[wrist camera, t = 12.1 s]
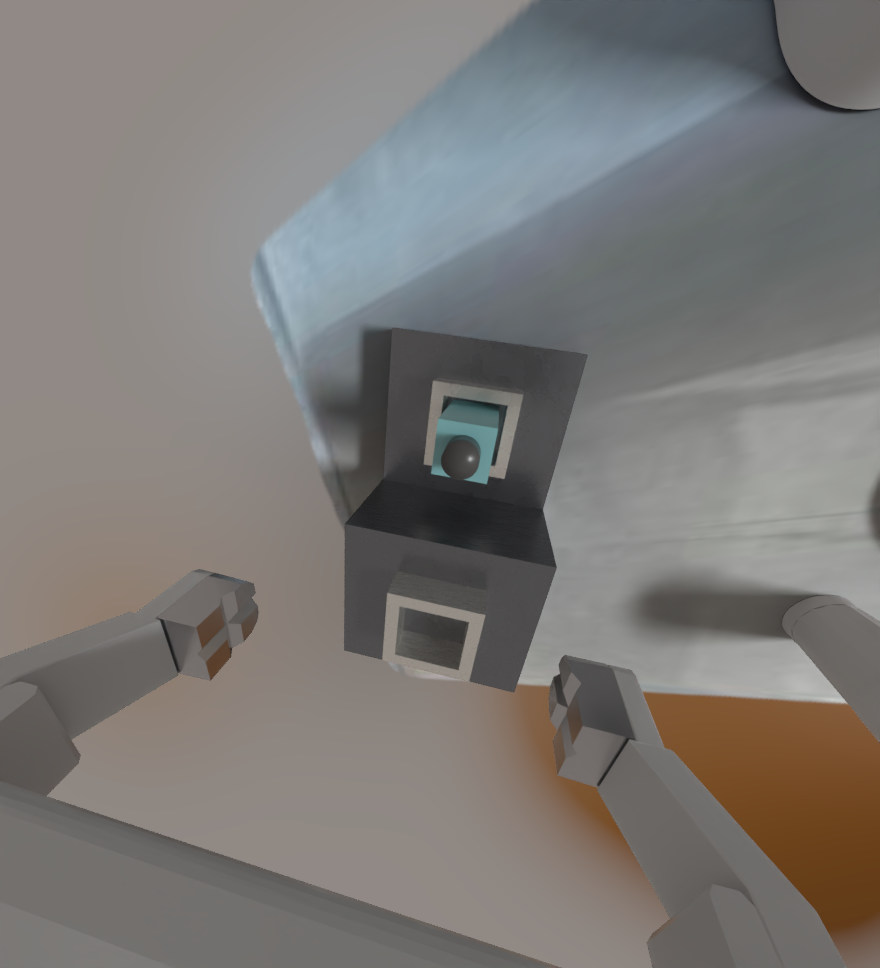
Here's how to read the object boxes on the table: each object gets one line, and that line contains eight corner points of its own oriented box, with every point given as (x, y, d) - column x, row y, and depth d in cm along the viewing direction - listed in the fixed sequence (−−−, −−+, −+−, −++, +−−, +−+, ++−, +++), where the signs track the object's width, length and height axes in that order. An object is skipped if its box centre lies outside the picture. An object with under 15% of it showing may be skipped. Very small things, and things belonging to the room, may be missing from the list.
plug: (454, 399, 29) (432, 425, 20) (499, 406, 29) (497, 436, 20) (446, 450, 31) (423, 495, 22) (488, 458, 31) (483, 507, 22)
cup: (806, 657, 37) (934, 791, 26) (755, 619, 36) (864, 740, 25) (887, 618, 33) (1073, 752, 22) (832, 575, 32) (997, 692, 22)
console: (401, 328, 30) (325, 319, 17) (579, 353, 29) (645, 364, 16) (385, 570, 42) (331, 674, 29) (510, 597, 40) (515, 721, 27)
